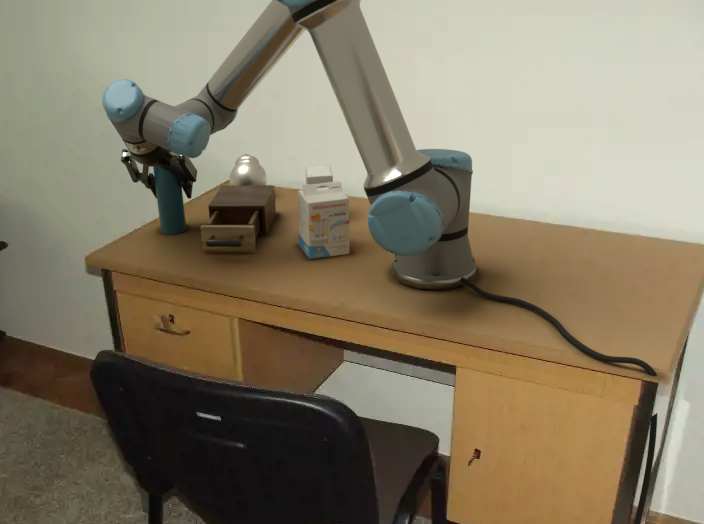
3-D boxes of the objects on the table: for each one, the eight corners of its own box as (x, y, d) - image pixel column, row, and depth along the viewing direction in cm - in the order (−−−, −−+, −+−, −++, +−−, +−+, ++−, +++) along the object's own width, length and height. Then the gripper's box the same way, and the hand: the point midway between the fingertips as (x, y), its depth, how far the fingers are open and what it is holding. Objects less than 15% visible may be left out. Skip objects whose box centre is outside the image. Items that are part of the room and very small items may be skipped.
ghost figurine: (273, 191, 213) (271, 150, 208) (261, 204, 205) (258, 162, 200) (238, 190, 215) (235, 149, 210) (225, 202, 208) (221, 160, 203)
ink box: (308, 260, 174) (306, 194, 167) (298, 245, 181) (296, 181, 175) (350, 254, 175) (350, 189, 169) (338, 239, 183) (337, 176, 176)
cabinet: (266, 235, 187) (264, 205, 184) (210, 235, 189) (208, 205, 186) (276, 213, 199) (274, 185, 195) (223, 213, 201) (221, 185, 198)
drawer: (251, 257, 175) (249, 234, 172) (197, 256, 177) (195, 234, 174) (264, 227, 189) (263, 206, 186) (215, 227, 191) (213, 206, 188)
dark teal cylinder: (192, 229, 193) (184, 152, 185) (169, 236, 190) (160, 158, 182) (177, 222, 198) (168, 147, 189) (155, 229, 195) (145, 153, 186)
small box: (333, 222, 191) (333, 175, 186) (308, 224, 192) (306, 176, 186) (331, 210, 198) (330, 164, 193) (306, 211, 199) (305, 165, 193)
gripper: (94, 156, 172) (129, 208, 194) (190, 155, 169) (215, 208, 191) (98, 122, 174) (133, 177, 196) (194, 120, 170) (218, 177, 192)
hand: (174, 192), depth 193 cm, fingers open, 7 cm apart
